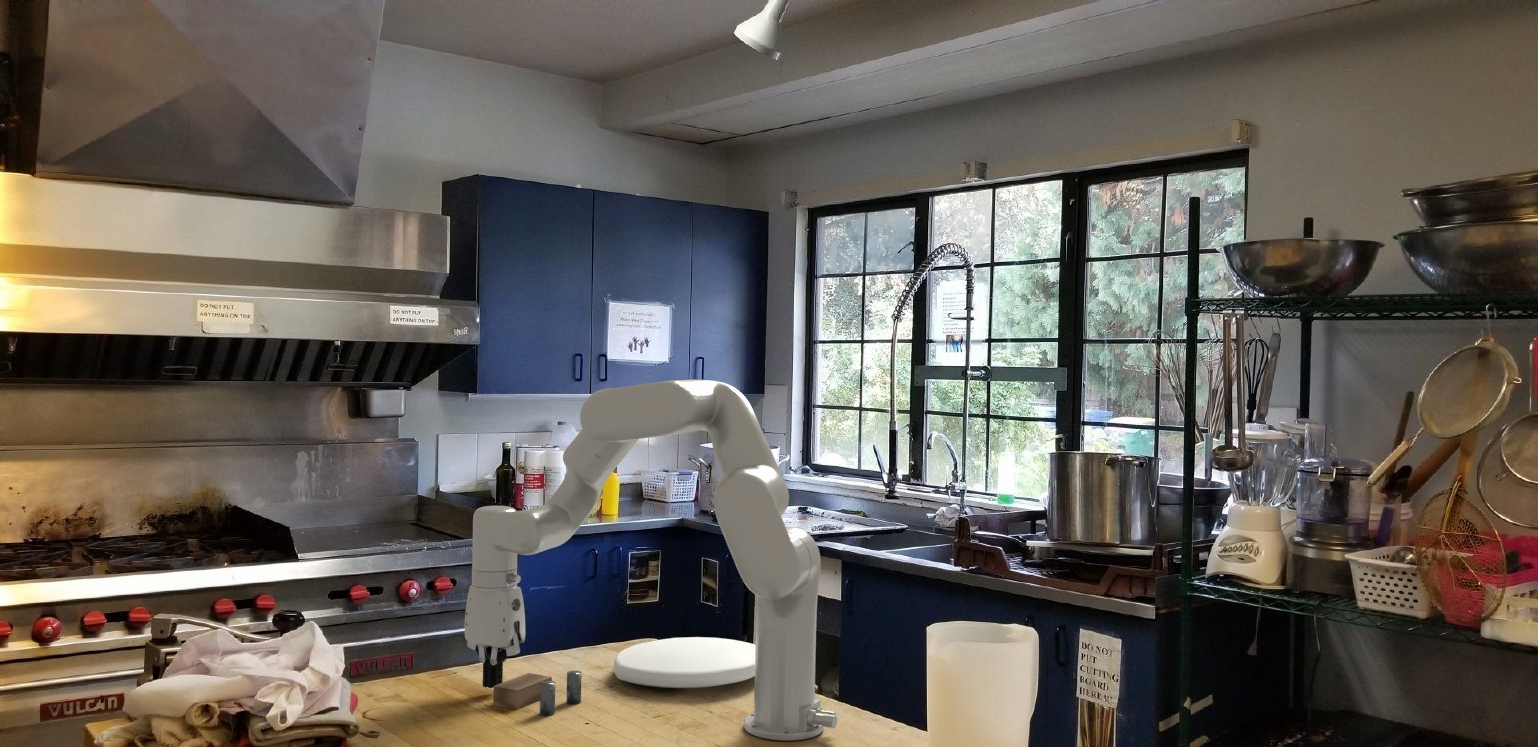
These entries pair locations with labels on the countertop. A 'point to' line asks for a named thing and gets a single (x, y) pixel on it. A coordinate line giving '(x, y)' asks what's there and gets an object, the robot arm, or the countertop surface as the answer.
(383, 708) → the countertop surface
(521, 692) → the block
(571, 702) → the bench dogs
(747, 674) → the white thick disc
